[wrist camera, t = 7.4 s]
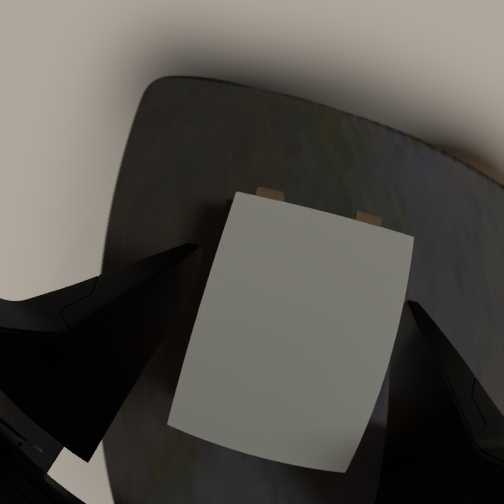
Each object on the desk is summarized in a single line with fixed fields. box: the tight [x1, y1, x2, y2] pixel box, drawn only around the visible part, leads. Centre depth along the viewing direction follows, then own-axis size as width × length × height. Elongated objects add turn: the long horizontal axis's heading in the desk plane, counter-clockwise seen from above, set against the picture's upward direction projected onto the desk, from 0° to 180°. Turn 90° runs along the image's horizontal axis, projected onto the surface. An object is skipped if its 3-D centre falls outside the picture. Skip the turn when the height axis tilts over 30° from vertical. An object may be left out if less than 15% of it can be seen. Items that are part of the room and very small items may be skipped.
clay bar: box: [167, 192, 414, 473], centre depth 10 cm, size 4×3×12 cm
